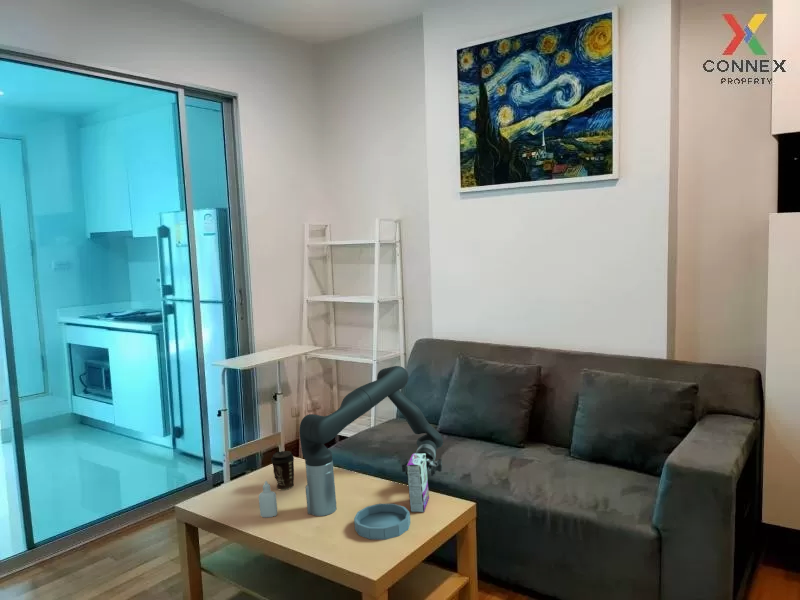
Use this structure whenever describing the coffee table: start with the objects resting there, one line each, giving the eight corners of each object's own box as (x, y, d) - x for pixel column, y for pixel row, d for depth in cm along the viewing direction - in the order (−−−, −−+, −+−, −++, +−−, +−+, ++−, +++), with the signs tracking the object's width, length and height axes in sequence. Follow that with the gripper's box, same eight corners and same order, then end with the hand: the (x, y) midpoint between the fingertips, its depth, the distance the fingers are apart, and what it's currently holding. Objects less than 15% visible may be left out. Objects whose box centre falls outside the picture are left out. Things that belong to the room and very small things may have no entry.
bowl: (350, 539, 179) (349, 528, 179) (362, 513, 196) (361, 503, 196) (405, 539, 176) (404, 528, 176) (413, 513, 193) (412, 503, 193)
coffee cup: (278, 482, 229) (275, 450, 228) (299, 481, 228) (296, 449, 227) (270, 491, 220) (267, 458, 219) (292, 491, 219) (289, 457, 218)
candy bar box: (415, 498, 205) (412, 452, 204) (429, 498, 204) (426, 452, 203) (409, 512, 194) (406, 464, 193) (424, 513, 193) (421, 464, 192)
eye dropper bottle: (267, 511, 203) (264, 477, 202) (279, 514, 200) (276, 480, 199) (258, 516, 200) (255, 482, 198) (270, 519, 197) (267, 485, 196)
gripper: (405, 447, 221) (399, 463, 205) (443, 446, 219) (439, 462, 203) (407, 466, 222) (400, 483, 206) (444, 466, 219) (440, 483, 203)
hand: (419, 473), depth 204 cm, fingers open, 8 cm apart
